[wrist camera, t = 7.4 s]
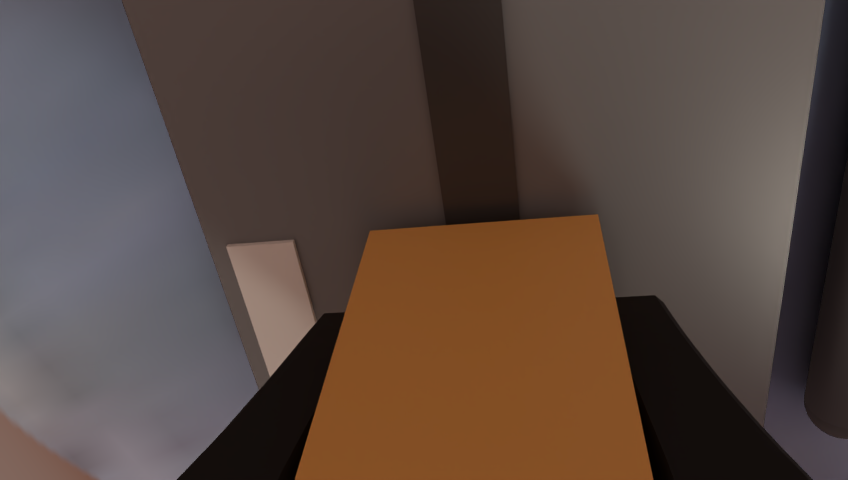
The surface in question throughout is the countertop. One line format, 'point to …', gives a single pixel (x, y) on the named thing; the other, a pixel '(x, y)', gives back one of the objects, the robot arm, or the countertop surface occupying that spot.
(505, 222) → the knob
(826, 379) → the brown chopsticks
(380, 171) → the switch panel
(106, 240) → the countertop surface
